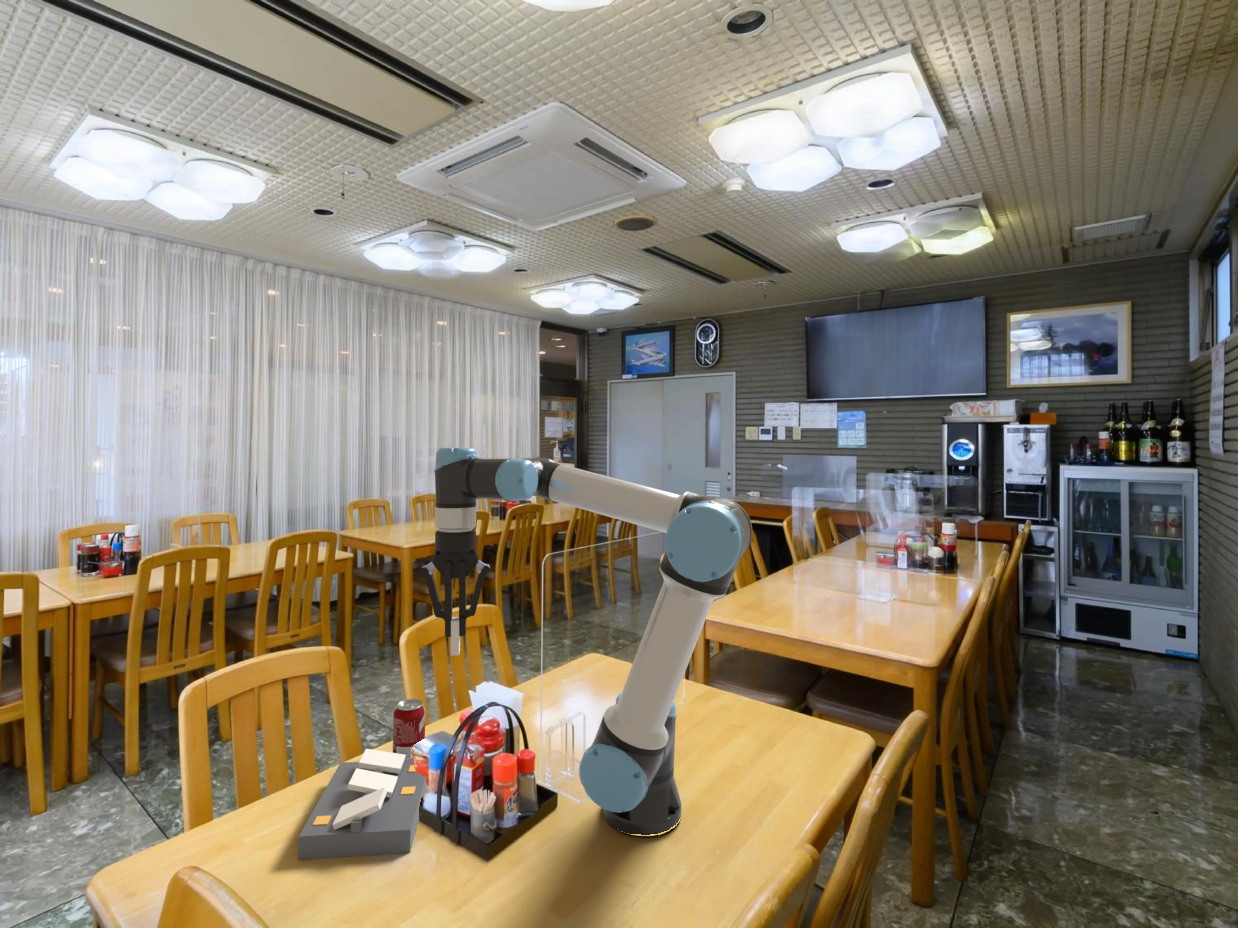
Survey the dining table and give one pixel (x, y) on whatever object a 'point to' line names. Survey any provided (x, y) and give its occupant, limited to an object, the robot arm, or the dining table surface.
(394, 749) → the soda can
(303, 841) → the switch unit
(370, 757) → the far switch
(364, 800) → the near switch
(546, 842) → the dining table surface
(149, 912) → the dining table surface
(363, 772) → the middle switch
